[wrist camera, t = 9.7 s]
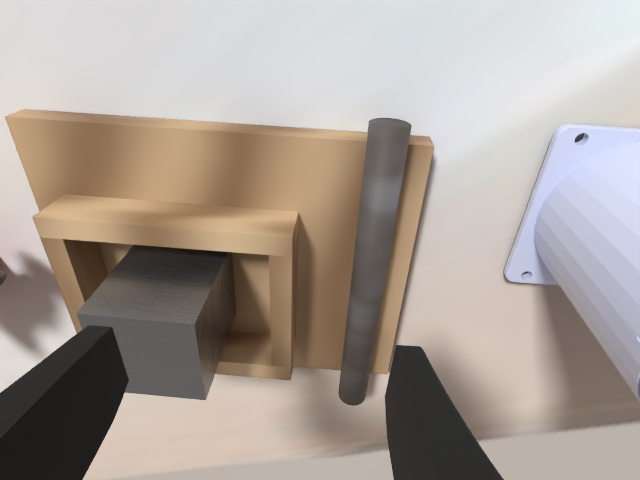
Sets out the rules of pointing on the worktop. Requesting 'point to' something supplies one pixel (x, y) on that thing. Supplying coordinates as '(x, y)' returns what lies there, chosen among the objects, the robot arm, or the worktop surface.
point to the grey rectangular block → (167, 317)
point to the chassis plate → (242, 224)
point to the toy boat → (2, 276)
